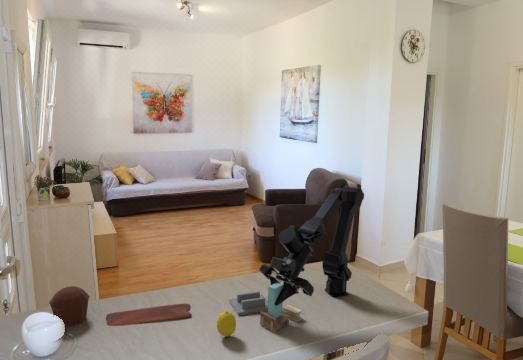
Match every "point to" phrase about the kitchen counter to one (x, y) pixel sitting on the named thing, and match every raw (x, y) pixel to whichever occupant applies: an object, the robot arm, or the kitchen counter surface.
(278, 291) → the teal rectangular block
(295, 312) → the offcut stack
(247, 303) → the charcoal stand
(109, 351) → the kitchen counter surface
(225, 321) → the lemon
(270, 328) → the stand
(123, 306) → the kitchen counter surface
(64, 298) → the muffin
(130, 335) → the kitchen counter surface
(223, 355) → the kitchen counter surface
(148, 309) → the wooden tablet
